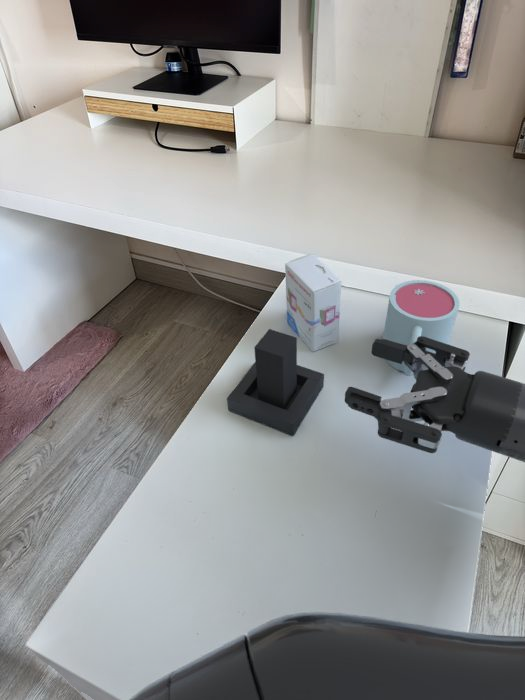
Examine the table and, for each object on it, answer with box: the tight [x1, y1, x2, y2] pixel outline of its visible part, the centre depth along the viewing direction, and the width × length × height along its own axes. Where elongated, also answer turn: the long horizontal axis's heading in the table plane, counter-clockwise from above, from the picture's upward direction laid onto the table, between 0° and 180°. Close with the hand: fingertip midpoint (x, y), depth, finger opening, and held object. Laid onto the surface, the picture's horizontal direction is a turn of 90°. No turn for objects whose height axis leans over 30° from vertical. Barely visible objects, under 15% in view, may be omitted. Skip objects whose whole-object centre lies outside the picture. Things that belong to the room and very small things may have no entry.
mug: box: [382, 279, 460, 377], centre depth 71 cm, size 14×9×10 cm
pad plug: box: [254, 328, 298, 409], centre depth 67 cm, size 4×4×10 cm
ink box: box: [284, 253, 342, 352], centre depth 76 cm, size 9×5×12 cm, turn 27°
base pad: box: [226, 361, 325, 437], centre depth 70 cm, size 10×10×3 cm
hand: (360, 369), depth 57 cm, fingers open, 8 cm apart
